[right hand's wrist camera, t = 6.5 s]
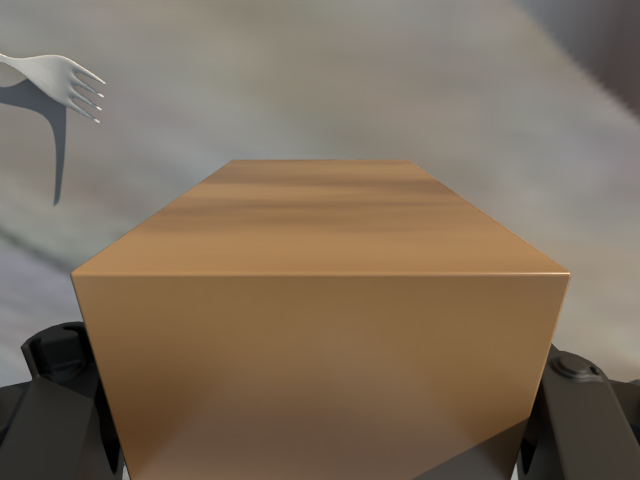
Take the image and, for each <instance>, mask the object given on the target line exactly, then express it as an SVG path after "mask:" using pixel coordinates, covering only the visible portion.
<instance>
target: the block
mask: <svg viewBox="0 0 640 480" xmlns="http://www.w3.org/2000/svg"><path fill="white" fill-rule="evenodd" d="M70 277H71V281H72V284H73V288H74V291H75V294H76V298H77V301H78V304H79V308H80V311H81V315H82V318H83V321H84V325H85V328H86V332H87V335H88V338H89V342H90V345H91V349H92V352H93V355H94V359H95V362H96V366H97V369H98V372H99V376H100V379H101V383H102V386H103V389H104V393H105V396H106V400H107V403H108V406H109V410H110V413H111V417H112V420H113V423H114V427H115V430H116V433H117V437H118V440H119V444H120V447H121V450H122V454H123V457H124V461H125V464H126V467H127V471H128V474H129V478H130V480H511V478H512V475H513V471H514V468H515V464H516V461H517V458H518V454H519V451H520V448H521V444H522V441H523V437H524V434H525V431H526V427H527V424H528V421H529V417H530V414H531V410H532V407H533V404H534V400H535V397H536V394H537V390H538V387H539V383H540V380H541V377H542V373H543V370H544V367H545V363H546V360H547V356H548V353H549V350H550V346H551V343H552V340H553V336H554V333H555V329H556V326H557V323H558V319H559V316H560V313H561V309H562V306H563V302H564V299H565V296H566V292H567V289H568V286H569V282H570V279H571V273H570V272H569V271H568V270H567V269H565V268H564V267H562V266H561V265H559V264H558V263H556V262H555V261H554V260H552V259H551V258H549V257H548V256H546V255H545V254H543V253H542V252H540V251H539V250H538V249H536V248H535V247H533V246H532V245H530V244H529V243H527V242H526V241H525V240H523V239H522V238H520V237H519V236H517V235H516V234H514V233H513V232H512V231H510V230H509V229H507V228H506V227H504V226H503V225H501V224H500V223H498V222H497V221H496V220H494V219H493V218H491V217H490V216H488V215H487V214H485V213H484V212H483V211H481V210H480V209H478V208H477V207H475V206H474V205H472V204H471V203H470V202H468V201H467V200H465V199H464V198H462V197H461V196H459V195H458V194H457V193H455V192H454V191H452V190H451V189H449V188H448V187H446V186H445V185H443V184H442V183H441V182H439V181H438V180H436V179H435V178H433V177H432V176H430V175H429V174H428V173H426V172H425V171H423V170H422V169H420V168H419V167H417V166H416V165H415V164H413V163H412V162H410V161H409V160H232V161H230V162H229V163H227V164H226V165H225V166H223V167H222V168H220V169H219V170H217V171H216V172H214V173H213V174H212V175H210V176H209V177H207V178H206V179H204V180H203V181H202V182H200V183H199V184H197V185H196V186H194V187H193V188H191V189H190V190H189V191H187V192H186V193H184V194H183V195H181V196H180V197H178V198H177V199H176V200H174V201H173V202H171V203H170V204H168V205H167V206H166V207H164V208H163V209H161V210H160V211H158V212H157V213H155V214H154V215H153V216H151V217H150V218H148V219H147V220H145V221H144V222H143V223H141V224H140V225H138V226H137V227H135V228H134V229H132V230H131V231H130V232H128V233H127V234H125V235H124V236H122V237H121V238H120V239H118V240H117V241H115V242H114V243H112V244H111V245H109V246H108V247H107V248H105V249H104V250H102V251H101V252H99V253H98V254H97V255H95V256H94V257H92V258H91V259H89V260H88V261H86V262H85V263H84V264H82V265H81V266H79V267H78V268H76V269H75V270H73V271H72V272H71V274H70Z"/></svg>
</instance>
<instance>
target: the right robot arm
mask: <svg viewBox="0 0 640 480" xmlns="http://www.w3.org/2000/svg"><path fill="white" fill-rule="evenodd" d="M21 350H22V352H23V355H24V357H25V360H26V363H27V365H28V368H29V370H30V373H31V376H32V381H29V382H24V383H20V384H15V385H10V386H5V387H1V388H0V480H122V476H123V466H124V457H123V454H122V450H121V447H120V444H119V440H118V437H117V433H116V430H115V427H114V423H113V420H112V417H111V413H110V410H109V406H108V403H107V400H106V396H105V393H104V389H103V386H102V383H101V379H100V376H99V372H98V369H97V366H96V362H95V359H94V355H93V352H92V349H91V345H90V342H89V338H88V335H87V332H86V328H85V325H84V322H68V323H63V324H59V325H55V326H52V327H50V328H47V329H45V330H43V331H40V332H38V333H37V334H35V335H34V336H32V337H31V338H29V339H28V340H27V341H26V342H25V343H24V344H23V345H22V346H21ZM516 465H517V474H518V480H640V386H637V385H633V384H628V383H623V382H618V381H614V380H609V379H608V378H607V377H606V375H605V374H604V373H603V371H602V370H601V369H600V368H598V367H597V366H596V365H595V364H593V363H592V362H590V361H588V360H586V359H584V358H582V357H580V356H578V355H575V354H572V353H569V352H565V351H559V350H558V349H557V348H556V347H555V346H554V345H553V344H552V343H551V346H550V350H549V353H548V356H547V360H546V363H545V367H544V370H543V373H542V377H541V380H540V383H539V387H538V390H537V394H536V397H535V400H534V404H533V407H532V410H531V414H530V417H529V421H528V424H527V427H526V431H525V434H524V437H523V441H522V444H521V448H520V451H519V454H518V458H517V461H516Z"/></svg>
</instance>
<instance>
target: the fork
mask: <svg viewBox="0 0 640 480" xmlns="http://www.w3.org/2000/svg"><path fill="white" fill-rule="evenodd" d="M0 62H2V63H5V64H7V65H9V66H11V67H13V68H15V69H16V70H18V71H19V72H20V73H22V74H23V75H24V76H25V77H26V78H28V79H29V80H30V81H31V82H32V83H33V84H35V85H36V86H37V87H38V88H39V89H40V90H41V91H43V92H44V93H45V94H46V95H48V96H49V97H50V98H52V99H53V100H55V101H56V102H58V103H60V104H62V105H64V106H66V107H69V108H71V109H73V110H75V111H77V112H79V113H81V114H83V115H85V116H86V117H88V118H90V119H92V120H94V121H95V122H96V123H100V122H99V121H98V120H97V119H95V118H94V117H93V116H92V115H90V114H89V113H88V112H86V111H85V110H84V109H82V108H81V107H80V106H78V105H77V104H76V103H74V101H73V98H77V99H79V100H81V101H83V102H85V103H87V104H89V105H91V106H93V107H95V108H97V109H98V110H102V109H100V108H99V107H98V106H97V105H95V104H94V103H93V102H91V101H90V100H89V99H87V98H86V97H85V96H83V95H82V94H80V93H79V92H78V91H76V90H75V88H74V86H75V85H78V86H80V87H82V88H84V89H86V90H88V91H90V92H92V93H94V94H96V95H98V96H100V97H104V96H102V95H101V94H100V93H98V92H97V91H96V90H94V89H93V88H92V87H90V86H89V85H87V84H86V83H84V82H83V81H81V80H80V79H79V78H78V77H77V76H76V73H77V72H79V73H82V74H84V75H86V76H88V77H90V78H92V79H95V80H97V81H99V82H101V83H102V84H106V83H105V82H104V81H102V80H101V79H99V78H98V77H96V76H95V75H94V74H92V73H91V72H89V71H88V70H86V69H85V68H83V67H81V66H80V65H78V64H77V63H75V62H73V61H72V60H70V59H68V58H66V57H63V56H59V55H43V56H37V57H30V58H22V59H15V58H10V57H7V56H5V55H2V54H0Z"/></svg>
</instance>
